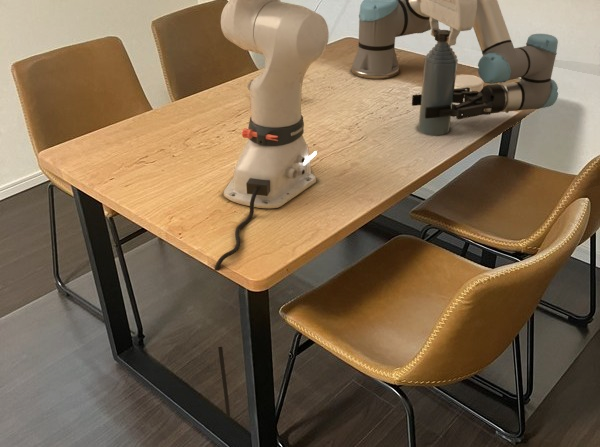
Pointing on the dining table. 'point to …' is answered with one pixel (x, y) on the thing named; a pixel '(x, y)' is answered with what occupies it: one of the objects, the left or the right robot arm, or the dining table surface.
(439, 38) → the cap
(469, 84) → the cream round disc
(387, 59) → the right robot arm
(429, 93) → the bottle
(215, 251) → the dining table surface
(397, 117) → the dining table surface
